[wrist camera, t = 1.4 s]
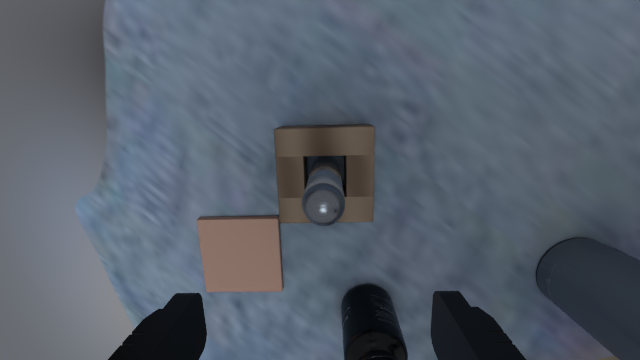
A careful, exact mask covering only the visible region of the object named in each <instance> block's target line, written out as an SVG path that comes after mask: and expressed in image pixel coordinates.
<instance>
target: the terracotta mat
mask: <svg viewBox="0 0 640 360" xmlns="http://www.w3.org/2000/svg"><path fill="white" fill-rule="evenodd" d="M197 225H198V232H199V240H200V247H201V255H202V262H203V270H204V278H205V285H206V292H275V291H283V287H284V286H283V270H282V255H281V239H280V224H279V216H240V217H200V218H199V219H197Z"/></svg>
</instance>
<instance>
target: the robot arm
mask: <svg viewBox="0 0 640 360" xmlns="http://www.w3.org/2000/svg"><path fill="white" fill-rule="evenodd" d="M537 282H538V286H539V288H540V290H541V292H542V293H543V294H544V295H545V296H546V297H547V298H548V299H550V300H551V301H552V302H553V303H554V304H555V305H557V306H558V307H559V308H560V309H561V310H562V311H563V312H565V313H566V314H567V315H568V316H569V317H570V318H571V319H573V320H574V321H575V322H576V323H577V324H578V325H579V326H581V327H582V328H583V329H584V330H585V331H586V332H588V333H589V334H590V335H591V336H592V337H593V338H595V339H596V340H597V341H598V342H599V343H600V344H602V345H603V346H604V347H605V348H606V349H607V350H608V351H610V352H611V353H612V354H613V355H614V356H615V357H617V358H618V359H619V360H640V261H639V260H637V259H635V258H633V257H631V256H629V255H627V254H625V253H623V252H621V251H619V250H617V249H612V248H610V247H608V246H606V245H604V244H602V243H600V242H597V241H595V240H592V239H587V238H575V239H570V240H567V241H564V242H561V243H560V244H558V245H556V246H554V247H553V248H552V249H551V250H550V251H548V252H547V253H546V255H545V256H544V257H543V258H542V260H541V262H540V264H539V267H538V270H537ZM206 336H207V331H206V323H205V316H204V309H203V302H202V297H201V295H200V294H199V293H177V294H175V295H174V296H173V297H172V298H171V300H170V301H169V302H168V303H167V304H166V306H165V307H164V308H163V309H158V310H156V311H155V312H153V313H152V314H151V315H149V316H148V317H146V318H145V319H143V320H142V321H141V323H140V324H139V325H138V326H137V327H136V328H135V329H134V331H133V332H132V335H129V336H128V337H127V338H126V340H125V341H124V342H123V344H122V346H120V347H119V348H118V349H117V350H116V351H115V352H114V353H113V354H112V356H111V357H110V358H109V359H108V360H199V358H200V356H201V354H202V352H203V350H204V347H205V343H206ZM431 339H432V344H433V348H434V351H435V353H436V356H437V358H438V360H526V359H525V358H524V356H523V355H522V354H521V353H520V351H519V350H518V349H517V347H516V346H515V345H513V344H512V341H511V340H510V339H509V337H508V336H507V335H506V334H505V333H504V332H503V330H502V328H501V327H500V326H499V325H498V323H497V322H496V321H495V320H494V318H493V317H491V316H490V315H489V314H487V313H486V312H484V311H483V310H482V309H480V308H479V307H470V305H469V304H468V302H467V301H466V300H465V298H464V297H463V296H462V294H461V293H460V292H459V291H435V292H434V294H433V304H432V319H431Z"/></svg>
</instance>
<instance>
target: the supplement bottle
mask: <svg viewBox="0 0 640 360" xmlns="http://www.w3.org/2000/svg"><path fill="white" fill-rule="evenodd" d="M342 330H343V348H344V359H345V360H408V353H407V348H406V345H405V341H404V338H403V335H402V332H401V329H400V325H399V322H398V319H397V316H396V313H395V309H394V306H393V303H392V301H391V299H390V297H389V296H388V294H387V293H386V292H385V291H383V290H382V289H380V288H378V287H375V286H360V287H357V288H355V289H353V290H351V291H350V292H349V293H348V294H347V295H346V296H345V298H344V300H343V303H342Z"/></svg>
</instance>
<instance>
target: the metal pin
mask: <svg viewBox="0 0 640 360" xmlns="http://www.w3.org/2000/svg"><path fill="white" fill-rule="evenodd" d="M302 210H303V213H304V215H305V217H306V218H307V219H308V220H309V221H310V222H312V223H313V224H316V225H319V226H328V225H331V224H334V223H335V222H337V221H338V220H339V219H340V218H341V216H342V215H343V213H344V210H345V198H344V192H343V186H342V180H341V174H340V168H339V163H338V161H337V160H336V159H335V158H334V157H333V156H319V157H317V158H316V159H315V161H314V163H313V166H312V169H311V172H310V175H309V179H308V182H307V185H306V188H305V192H304V195H303V198H302Z"/></svg>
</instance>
